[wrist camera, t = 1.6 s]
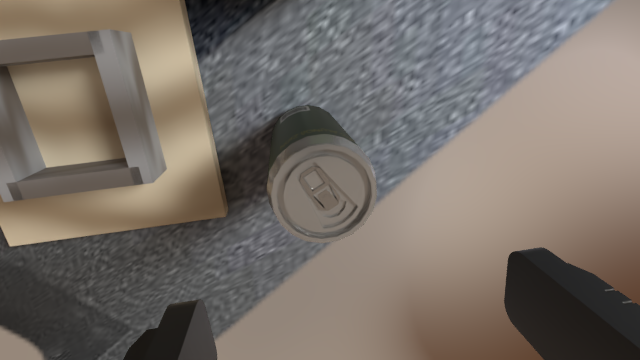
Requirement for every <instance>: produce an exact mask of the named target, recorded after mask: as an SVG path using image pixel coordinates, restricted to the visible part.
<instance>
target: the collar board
mask: <svg viewBox="0 0 640 360" xmlns="http://www.w3.org/2000/svg"><path fill="white" fill-rule="evenodd" d="M227 212H228V204H227V199H226V195H225V190H224V185H223V180H222V176H221V171H220V166H219V161H218V157H217V152H216V147H215V143H214V138H213V133H212V128H211V124H210V119H209V114H208V109H207V105H206V100H205V95H204V90H203V86H202V81H201V76H200V71H199V67H198V62H197V57H196V52H195V48H194V43H193V38H192V33H191V29H190V24H189V19H188V14H187V10H186V5H185V0H0V226H1V228H2V230H3V233H4V235H5V237H6V239H7V241H8V243H9V245H10V247H11V246H18V245H25V244H32V243H40V242H47V241H54V240H61V239H68V238H76V237H83V236H90V235H97V234H105V233H112V232H119V231H126V230H133V229H141V228H148V227H155V226H162V225H169V224H177V223H184V222H191V221H198V220H206V219H213V218H220V217H226V215H227Z"/></svg>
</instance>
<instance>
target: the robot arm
mask: <svg viewBox="0 0 640 360" xmlns="http://www.w3.org/2000/svg"><path fill="white" fill-rule="evenodd" d="M504 299H505V300H504V303H505V308H506V312H507V314H508V316H509V319H510V320H511V322H512V324H513V325H514V326H515V327H516V328H517V329H518V331H519V332H520V333H521V334H522V335H523V336H524V337H525V339H526V340H527V341H528V342H529V343H530V344H531V345H532V346H533V348H534V349H535V350H536V351H537V352H538V353H539V354H540V355H541V357H542V358H543V359H544V360H640V306H639V305H638V304H637V303H632V301H631V299H629V298H628V297H626V296H625V295H623V294H622V293H620V292H619V291H615V290H614V288H613V287H612V286H610V285H609V284H607V283H606V282H604V281H603V280H601V279H600V278H598V277H597V276H596V275H594V274H592V273H590V272H587V271H585V270H582V269H580V268H578V267H576V266H573V265H571V264H569V263H568V264H567V263H566V262H564V261H563V260H561V259H560V258H559V257H557V256H556V255H554V254H553V253H552V252H550V251H549V250H547V249H545V248H534V249H528V250H522V251H515V252H512V253H511V254H510V255H509V258H508V266H507V277H506V287H505V298H504ZM123 360H217V351H216V346H215V342H214V338H213V334H212V330H211V327H210V323H209V319H208V315H207V311H206V307H205V304H204V302H203V301H202V300H194V301H188V302H181V303H175V304H170V305H169V306H168V307H167V309H166V311H165V313H164V315H163V317H162V320H161V322H160V324H159V326H158V328H155V329H149V330H146V331H145V332H144V333H143V334H142V336H141V337H140V338H139V339H138V340H137V341H136V342H135V343H134V344H133V345H132V346H131V347H130V348H129V350H128V351H127V353H126V355H125V357H124V359H123Z"/></svg>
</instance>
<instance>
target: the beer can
mask: <svg viewBox="0 0 640 360" xmlns="http://www.w3.org/2000/svg"><path fill="white" fill-rule="evenodd" d="M267 193H268V199H269V204H270V206H271V208H272V209H273V211H274V213H275V215H276V217H277V218H278V220H279V222H280V224H281V225H282V226H283V227H284V228H286V229H287V230H288V231H289V232H290V233H291V234H292V235H294V236H296V237H299V238H301V239H303V240H305V241H310V242H317V243H326V242H333V241H338V240H341V239H343V238H345V237H347V236H349V235H352V234H353V233H354V232H355V231H357V230H358V229H359V228H360V227H361V226H363V225H364V223H365V222H366V220H367V219H368V217H369V216H370V214H371V213H372V211H373V208H374V204H375V201H376V197H377V191H376V180H375V171H374V169H373V166H372V164H371V162H370V159H369V157H368V156H367V155H366V154H365V153H364V152H363V151H362V150H361V148H360V147H359V146H358V145H357V144H356V143H355V142H354V140H353V139H352V138H351V137H350V136H349V135H348V134H347V133H346V131H345V130H344V129H343V128H342V127H341V126H340V125H339V124H338V122H337V121H336V120H335V119H334V118H333V117H332V116H331V115H330V113H328V112H327V111H325V110H323V109H321V108H320V107H315V106H310V105H306V106H297V107H295V108H293V109H291V110H289V111H287V112H286V113H284V114H283V115H282V116H281V117H280V118H279V119H278V121H277V123H276V125H275V127H274V128H273V133H272V139H271V149H270V159H269V169H268V179H267Z"/></svg>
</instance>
